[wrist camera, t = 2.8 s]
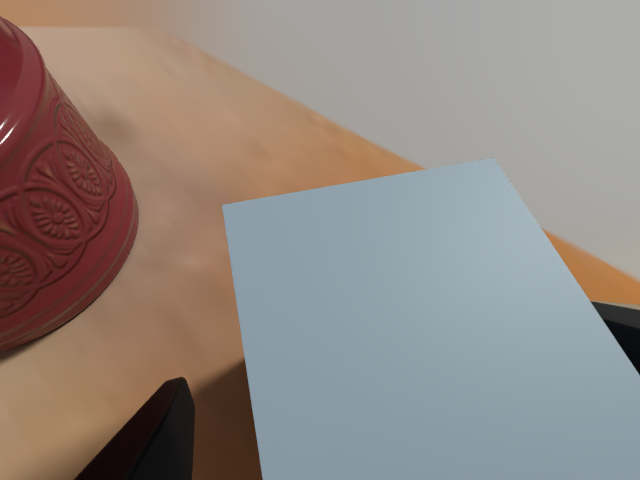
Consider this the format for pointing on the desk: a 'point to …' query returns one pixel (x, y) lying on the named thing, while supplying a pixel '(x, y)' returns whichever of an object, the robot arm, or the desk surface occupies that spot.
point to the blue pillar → (424, 337)
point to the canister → (53, 200)
